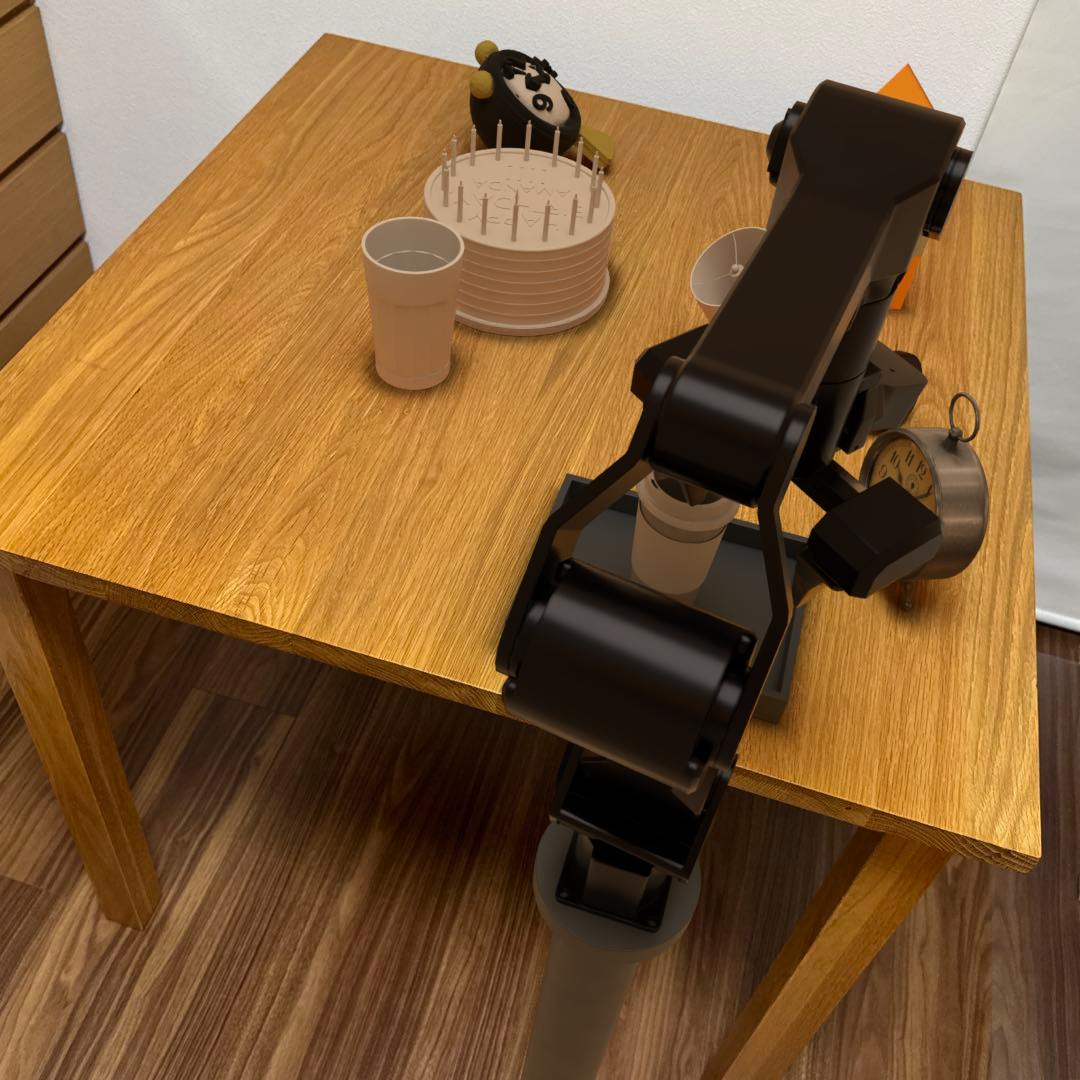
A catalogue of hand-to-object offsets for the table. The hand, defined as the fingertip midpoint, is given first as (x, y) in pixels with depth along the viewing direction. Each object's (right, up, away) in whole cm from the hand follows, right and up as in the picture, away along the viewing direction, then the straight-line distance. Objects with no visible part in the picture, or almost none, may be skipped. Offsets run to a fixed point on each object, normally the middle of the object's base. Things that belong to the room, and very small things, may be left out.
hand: (745, 551), depth 67 cm
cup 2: (-4, -3, +14) cm, 15 cm away
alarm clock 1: (-13, +42, +55) cm, 70 cm away
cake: (-15, +25, +40) cm, 49 cm away
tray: (-3, -4, +14) cm, 15 cm away
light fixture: (+9, +14, +32) cm, 36 cm away
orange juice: (+19, +26, +44) cm, 55 cm away
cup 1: (-23, +15, +30) cm, 41 cm away
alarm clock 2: (+15, -1, +19) cm, 24 cm away
